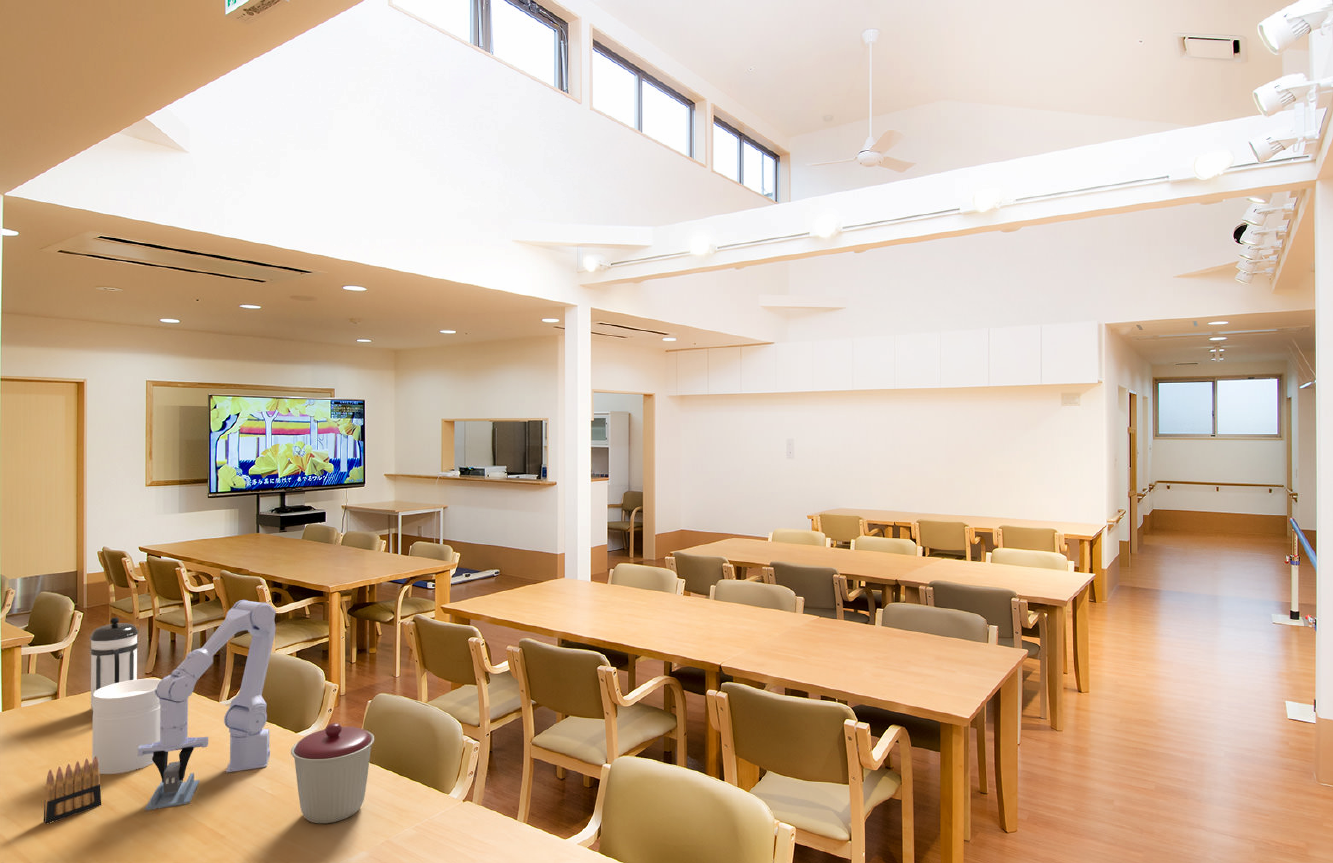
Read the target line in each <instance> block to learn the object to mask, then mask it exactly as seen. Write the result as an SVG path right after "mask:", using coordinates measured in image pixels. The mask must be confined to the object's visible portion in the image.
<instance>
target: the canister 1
mask: <svg viewBox="0 0 1333 863" xmlns="http://www.w3.org/2000/svg"><path fill="white" fill-rule="evenodd" d="M161 680H162V679H158V678H137V679H136V680H129V681H124V682H119V683H115V684H111V685H108V686H105V687H102V688H100V689H98V690H96V691H95V692H94V693H93V709H92V741H91V742H92V746H91V747H92V749H91V750H92V752H91V754H92V755H91V756H92V758H91V761H92V762H91V763H92V764H91V767H92V766H93V760H94V757H95V756H97V758H98V763H99V772H100V775H113V774H123V773H129V772H134V771H136V769H137V770H140V769H144V768H145V767H146V768H147V767H149V766H150V764H151V765H153V764H155V763H154V762H153V760H152V757H153V753H152V754H144V755H143V756H138V748H139V747H140V745H147V744H151V743H156V742H160V700H159V698H158V697H157V696H156V695H155V689H157V686H158V684H159V682H160V681H161ZM152 763H153V764H152ZM139 768H140V769H139Z"/></svg>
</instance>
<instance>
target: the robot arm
mask: <svg viewBox="0 0 1333 863" xmlns="http://www.w3.org/2000/svg"><path fill="white" fill-rule="evenodd" d="M276 612H277V611H276V610H275V608H274V607H273V606H272V605H271V604H270V603H268V602H258V601H251V600H250V601H249V600H247V599H242V600H238V601H236V602H235V603H234V604H233V606H232V607H231V608H230V609H229V610H228V611H227V613H226V616H225V619H224V620H223V621H222V622H221V624H220V625H219V626H218V627H217V629H216V630H215V631H214V632H213V633H212V634H211V636H210V637H209V639H208V640H207V641H206V642H205V643H204V645H203V646H202V647H200V648H197V649H196V648H195V649H193V650H192V651H191V652H188V653H187V654H186V655H185V656H186V658H184V660H183V661H182V662H181V663H180V664H179V665H178V666H177V667H176V669H173V670H172V671H171V674H169V675H167V676H164V677H163V678H162V679H160V680H161V681H160V682H159V684H158V686H157V689H155V695H156V696H157V697H158V698H159V700H160V742H156V743H151V744H147V745H140V747H139V748H138V756H143V755H144V754H152V753H153V757H152V760H153V762H154V763H153V764H154V765H155V766H156V768H157V770H158V772H159V774H160V777H161V781H162V783H163V778H164V771H165V769H166V768H167V766H168V761H169V760H168V759H169V752H174V751H180V752H179V754H178V756H179V761H180V775H179V777H180V780H183V781H184V778H185V776H186V771H187V770H186V769H187V766H188V764H189V760H190V758H191V755H192V754H193V751H194V750H195V748H207V747H208V746H209V736H202V737H201V736H197V737H196V736H195V737H193V736H191V737H189V736H188V726H189V723H188V721H189V719H188V717H189V716H188V715H189V711H188V710H189V708H188V707H189V697H191V696H192V694H193V692H194V690H195V689H194V688H195V686H196V684H197V682H198V680H199V679H200V677H202V675H204V673H205V672H206V671H207V670H208V669H209V668H210V667H211V666H212V665H213V663H214V655H216V653H217V652H218V651H219V650H221V648H223V646H225V644H227V642H229V640H230V639H232V638H233V637H234V636H235V634H237V633H239V632H243V631H247V632H248V633H249V634H250V635H251V641H250V644H249V648H248V653H247V658H246V662H245V667H244V671H243V676H242V680H241V683H240V684H241V685H240V689H239V694H238V695H237V696H235V697H234V698H233V699H232V700H230V706H229V708H228V709H227V711H226V713H225V715H224V718H223V724H224V725H225V727H226V728H228V733H230V734H229V735H230V736H229V738H230V739H229V750H230V751H229V763H228V765H227V768H226V773H233V772H239V771H246V770H248V771H249V770H254V769H261V768H265V767H267V766H268V762H269V758H270V756H271V749H270V729H269V728H264V727H265V725H266V724H267V720H268V714H267V705H268V704H267V702H266V701H265V699H264V698H263V696H262V694H263V691H264V685H265V681H266V677H267V673H268V666H269V663H270V659H271V654H272V648H273V645H274V640H275V635H276V622H275V617H276V614H277V613H276Z"/></svg>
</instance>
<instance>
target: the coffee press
mask: <svg viewBox="0 0 1333 863" xmlns="http://www.w3.org/2000/svg"><path fill="white" fill-rule="evenodd" d="M109 622H110V623H111V624H106V625H105V624H104V625H102V626H99V627H97V628H95V629H94V630H93V631H92V632H91V635H90V636H89V640H90V642H91V643H90V644H91V646H90V651H89V652H90V659H91V660H90V661H91V662H90V706H91V709H92V710H93V693H94V692H95V691H96V690H98V689H100V688H102V687H105V686H108V685H111V684H115V683H119V682H124V681H129V680H136V679H138V678H137V677H138V675H137V674H138V647H139V641H138V635H139V633H140V632H139V629H138V628H137V626H136V625H134V624H133V623H127V622H126V623H125V622H123V623H122V622H120V619H119V618H118V617H112V618H111V620H110V621H109Z"/></svg>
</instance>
